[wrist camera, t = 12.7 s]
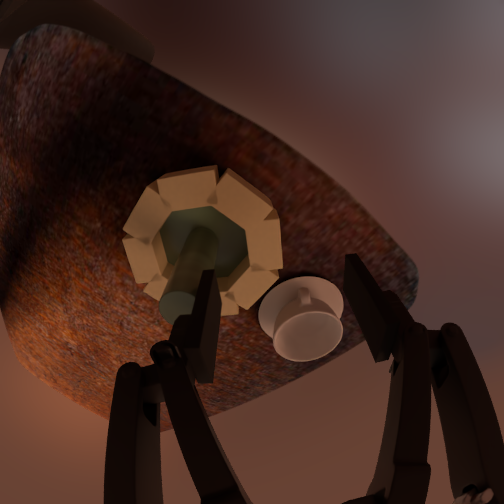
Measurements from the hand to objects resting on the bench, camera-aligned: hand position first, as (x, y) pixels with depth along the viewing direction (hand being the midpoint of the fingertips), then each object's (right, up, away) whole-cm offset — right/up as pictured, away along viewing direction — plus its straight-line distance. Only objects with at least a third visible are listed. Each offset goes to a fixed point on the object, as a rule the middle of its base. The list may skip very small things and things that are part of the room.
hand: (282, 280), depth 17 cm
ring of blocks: (-6, +3, +8) cm, 10 cm away
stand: (-7, +3, +9) cm, 12 cm away
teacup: (+4, -5, +14) cm, 15 cm away
